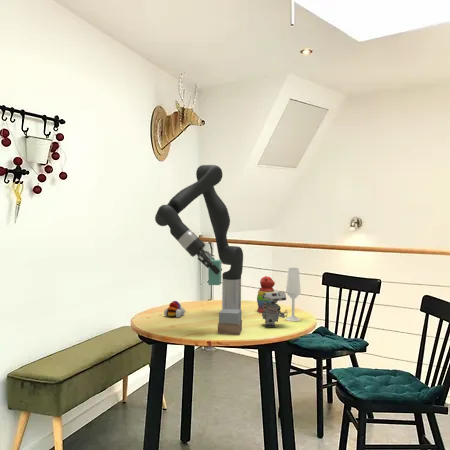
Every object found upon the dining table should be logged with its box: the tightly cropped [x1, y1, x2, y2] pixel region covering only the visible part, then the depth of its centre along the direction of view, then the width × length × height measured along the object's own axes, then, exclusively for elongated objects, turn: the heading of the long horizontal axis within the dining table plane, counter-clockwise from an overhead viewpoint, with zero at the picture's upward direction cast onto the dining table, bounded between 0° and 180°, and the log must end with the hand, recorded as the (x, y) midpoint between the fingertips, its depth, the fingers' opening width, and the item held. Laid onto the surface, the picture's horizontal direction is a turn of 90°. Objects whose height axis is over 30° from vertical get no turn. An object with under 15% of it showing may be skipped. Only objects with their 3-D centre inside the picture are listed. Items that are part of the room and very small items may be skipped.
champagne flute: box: [285, 267, 301, 322], centre depth 222 cm, size 7×7×24 cm
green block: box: [208, 259, 222, 286], centre depth 200 cm, size 5×5×10 cm
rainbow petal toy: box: [163, 300, 186, 318], centre depth 228 cm, size 8×10×7 cm
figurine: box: [261, 290, 288, 329], centre depth 210 cm, size 9×12×15 cm
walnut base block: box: [217, 319, 243, 336], centre depth 198 cm, size 9×9×4 cm
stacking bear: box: [256, 275, 276, 314], centre depth 240 cm, size 11×10×18 cm
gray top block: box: [218, 308, 242, 325], centre depth 198 cm, size 8×8×4 cm
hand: (219, 272), depth 199 cm, fingers closed on green block, 4 cm apart
